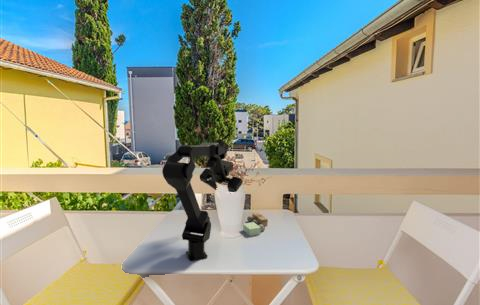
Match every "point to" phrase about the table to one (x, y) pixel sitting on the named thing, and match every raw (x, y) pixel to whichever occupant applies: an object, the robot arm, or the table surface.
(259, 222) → the hinge base
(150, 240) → the table surface
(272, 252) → the table surface
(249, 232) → the hinge leaf
